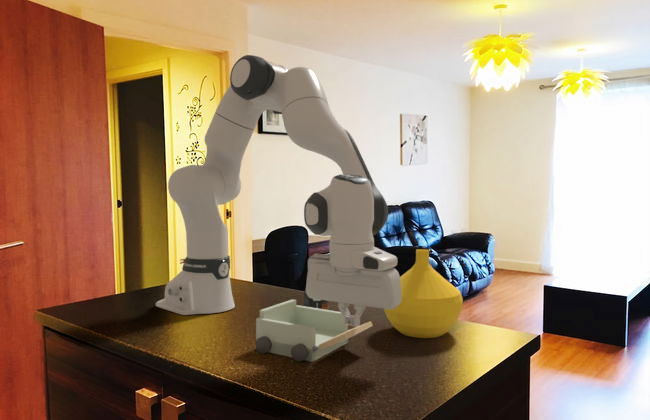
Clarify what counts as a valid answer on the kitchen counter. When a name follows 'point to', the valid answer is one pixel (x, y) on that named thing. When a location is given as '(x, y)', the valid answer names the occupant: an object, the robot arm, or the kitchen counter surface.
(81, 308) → the kitchen counter surface
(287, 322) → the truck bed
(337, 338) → the panel
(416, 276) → the vase
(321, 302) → the pill bottle
